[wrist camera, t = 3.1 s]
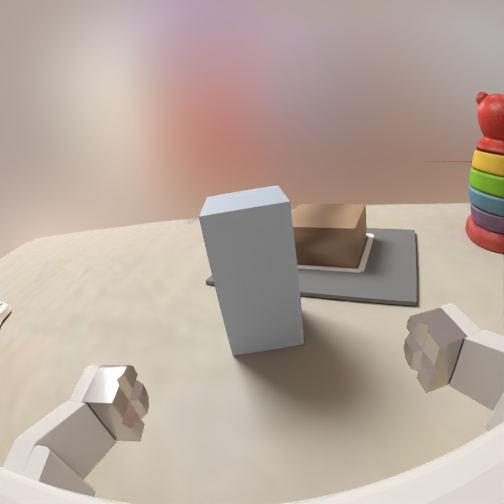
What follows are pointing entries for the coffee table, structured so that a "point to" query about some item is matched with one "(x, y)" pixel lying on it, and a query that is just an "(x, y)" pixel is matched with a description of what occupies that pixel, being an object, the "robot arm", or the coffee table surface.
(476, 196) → the stacking bear
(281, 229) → the pillar
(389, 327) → the coffee table surface
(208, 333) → the coffee table surface
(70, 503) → the robot arm
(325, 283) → the build mat
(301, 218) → the base block
